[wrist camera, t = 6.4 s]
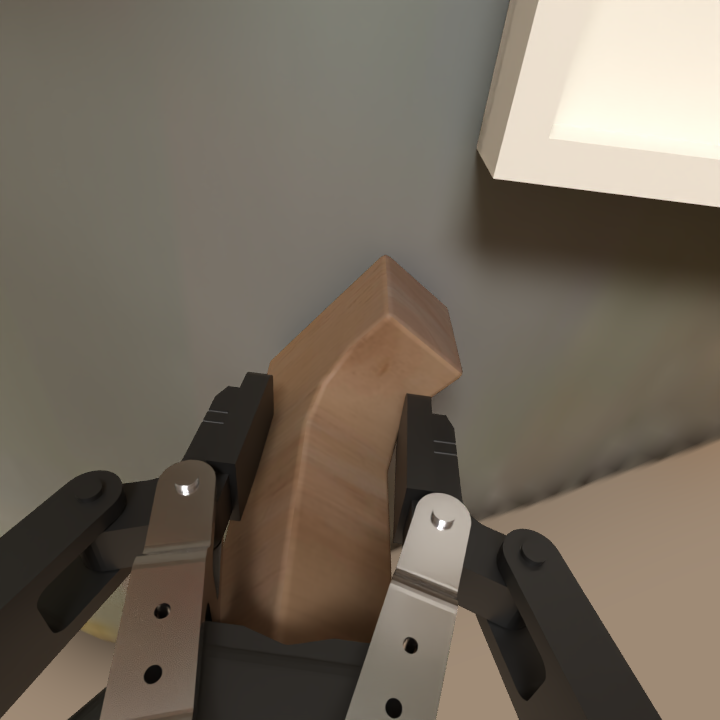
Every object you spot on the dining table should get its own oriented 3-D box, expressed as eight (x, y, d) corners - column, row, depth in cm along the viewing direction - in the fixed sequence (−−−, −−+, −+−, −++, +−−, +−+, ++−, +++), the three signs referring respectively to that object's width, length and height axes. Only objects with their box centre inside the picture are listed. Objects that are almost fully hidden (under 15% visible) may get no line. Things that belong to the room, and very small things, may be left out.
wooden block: (330, 401, 20) (279, 996, 8) (268, 360, 18) (99, 1007, 7) (450, 307, 17) (631, 1049, 5) (385, 249, 15) (436, 1089, 4)
